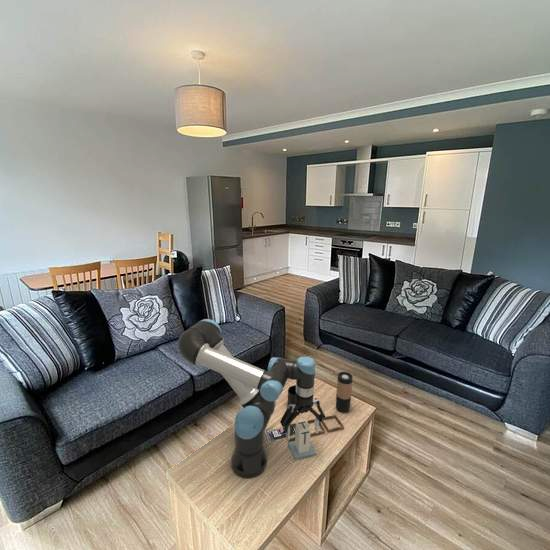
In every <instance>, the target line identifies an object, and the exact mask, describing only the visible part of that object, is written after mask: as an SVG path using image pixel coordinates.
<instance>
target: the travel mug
mask: <svg viewBox="0 0 550 550" xmlns="http://www.w3.org/2000/svg"><path fill="white" fill-rule="evenodd" d="M336 383H337V384H336V392H335V393H336V394H335V398H336V399H335V410H336V411H337V412H338V413H342V414H347V413H349V412H350V407H351V401H352V400H351V399H352V392H353V391H352V389H353V374H351V373H350V372H347V371H340V372H338V374H337V382H336Z"/></svg>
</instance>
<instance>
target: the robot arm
mask: <svg viewBox="0 0 550 550" xmlns="http://www.w3.org/2000/svg"><path fill="white" fill-rule="evenodd" d="M221 334H222V329H221V326H220V325H219V324H218V323H217V322H216V321H215V320H213V319H210V318H203V319H202V320H199V321H198V322H196V323H194V325H192V326H190V327H189V328H188V329H186V330H185V331H183V332H182V333H181V335H180V336H179V338H178V340H177V349H178V352H179V354H180V355H181V357H182V358H183V359H184V360H185V361H186V362H188V363H190V364H192V366H193V365H194V366H196V367H200V366H203V367H205V368H207V369H210V370H212V371H214V372H216V373H219V374H221V375H222V377H223V378H224V379H225V381H226V382H227V384H228V385H229V386H230V387H231V388H232V390H233V391H234V392H235V394H236V395H237V396H238V397H239V398H240V401H239V402H240V403H239V404H240V405H241V407H242V408H240V409H239V410H238V412H237V413H236V415H235V417H234V424H233V429H234V445H235V446H234V448H233V452H232V455H231V459H230V460H231V461H230V462H231V469H232V471H233V473H235V475H236V476H238V477H240V478H244V479H252V478H257V477H258V476H260V475H261V474H262V473H263V472H264V471H265V470H266V468H267V466H268V465H267V464H268V454H267V452H266V450H265V447H264V433H265V430H266V428H267V426H268V424H269V422H270V420H271V418H272V415H273V413H274V412H275V408H276V403H277V400H278V399H279V398H280V396H281V394H282V393H283V390H284V387H285V385H286V383H287V381H288V379H289V380H294V381H295V385H296V397H295V404H291V403H289V404H287V407H286V409H285V412H284V413H283V415H282V417H281V419H280V421H279V423H280V425H281V427H282V428H283V427H284V429H283V431H285V432H284V433H286V434H285V437H286V440H287V441H288V440H289V439H290V438H291V437H290V435H291V428H290V426H289V425H290V424H293V421H294V420H295V419H297V417H298V416H300V414H304V413H311V414H312V415H313V416H314V419H315V422H314V428H313V429H314V432H316V433H317V434H318V431H319V428H320V425H321V424H322V422H321V421H322V418H325V417H326V415H325V413H324V411H323V409H322V407H321V404H320V400H319V399H318V397H316V398H314V390H315V378H316V362H315V360H314V359H313V358H312V357H310V356H307V355H306V356H300V357H298V358H297V360H291V359H287V358H282V357H274V356H273V357H271V358H270V360H269V362H268V366H267V370H265V369H262V368H260V367H258V366H255V365H253V364H250V363H248V362H245V361H243V360H241V359H238V358H236V357H234V356H233V354H231V352H230V351H229V350H228V349H227V347H226V346H225V344H224V340H225V339H224V337H222V336H221ZM314 405H315V406H316V408H317V410H318V412H319V413H318V412H317V411H316V410H315V409H314V408H313V406H314ZM293 409H294V410H293Z"/></svg>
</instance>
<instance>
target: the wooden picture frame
mask: <svg viewBox="0 0 550 550" xmlns="http://www.w3.org/2000/svg"><path fill="white" fill-rule="evenodd" d="M289 426H295V427H296V422H295V423H291V424H290V425H289ZM283 428H284V427H282V429H283ZM287 441H288V442H292V441H295V436H292V437H290V439H289V440H288V439H287Z"/></svg>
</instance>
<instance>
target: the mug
mask: <svg viewBox="0 0 550 550" xmlns="http://www.w3.org/2000/svg"><path fill="white" fill-rule="evenodd" d="M295 397H296V384H295V385H291V386H290V387H288V389H287V405H288V404H289V403H291V404H295ZM293 410H294V409H293Z"/></svg>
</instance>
